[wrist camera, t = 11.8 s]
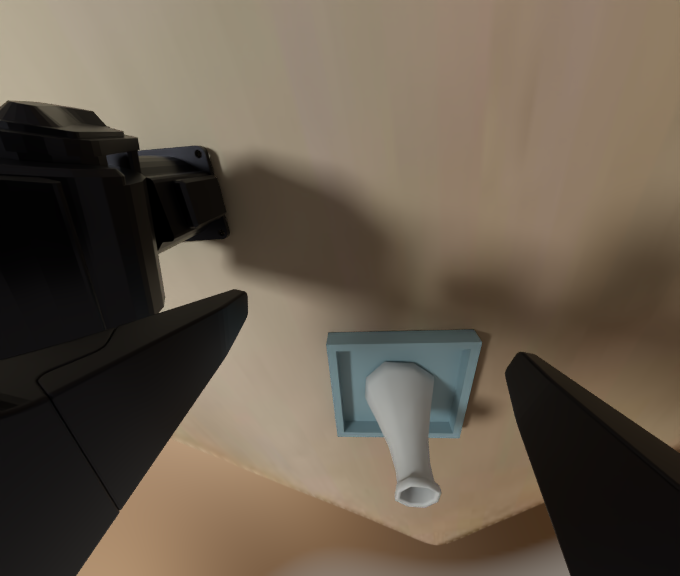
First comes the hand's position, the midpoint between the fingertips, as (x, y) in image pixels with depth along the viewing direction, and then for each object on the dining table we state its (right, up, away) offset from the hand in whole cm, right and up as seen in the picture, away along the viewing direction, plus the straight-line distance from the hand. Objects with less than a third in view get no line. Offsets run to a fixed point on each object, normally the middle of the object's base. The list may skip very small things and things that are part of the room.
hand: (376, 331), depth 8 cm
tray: (+5, -9, +19) cm, 21 cm away
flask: (+5, -9, +19) cm, 21 cm away
